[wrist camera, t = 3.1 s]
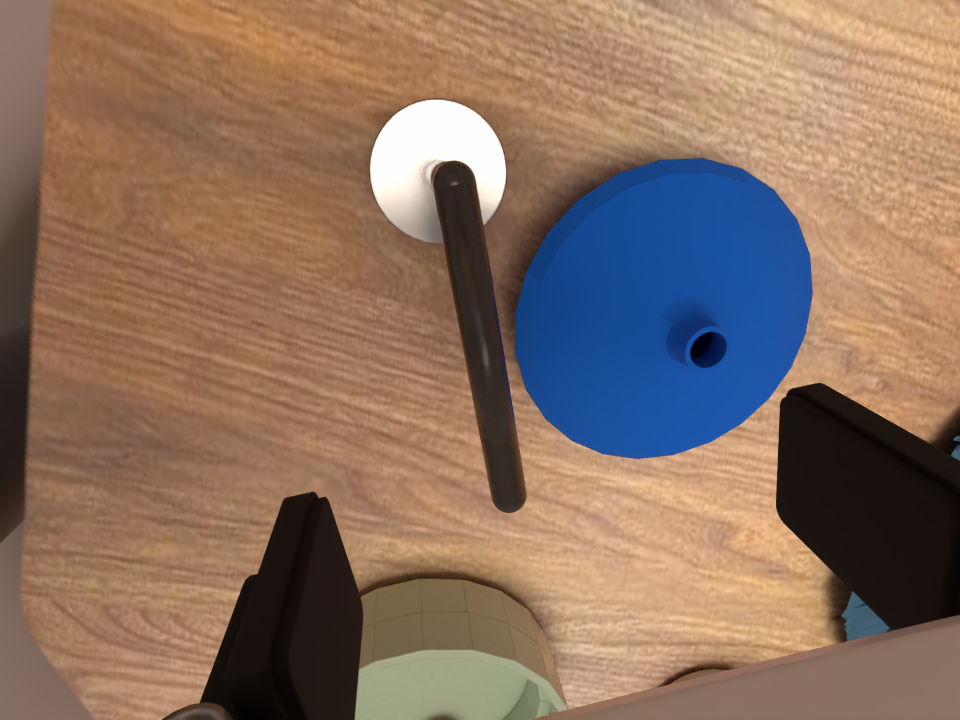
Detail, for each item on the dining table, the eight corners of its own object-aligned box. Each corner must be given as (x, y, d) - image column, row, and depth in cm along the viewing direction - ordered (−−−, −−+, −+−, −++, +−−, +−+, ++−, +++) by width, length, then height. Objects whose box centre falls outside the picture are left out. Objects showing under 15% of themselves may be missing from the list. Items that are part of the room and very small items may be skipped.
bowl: (334, 782, 41) (324, 881, 35) (262, 607, 34) (235, 695, 29) (559, 724, 42) (584, 812, 36) (530, 545, 36) (554, 618, 30)
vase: (454, 240, 28) (471, 268, 22) (739, 101, 28) (844, 87, 21) (564, 474, 34) (604, 551, 28) (800, 363, 34) (898, 415, 27)
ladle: (358, 115, 26) (333, 94, 16) (485, 93, 26) (539, 58, 16) (426, 414, 31) (439, 537, 21) (529, 392, 32) (588, 502, 22)
